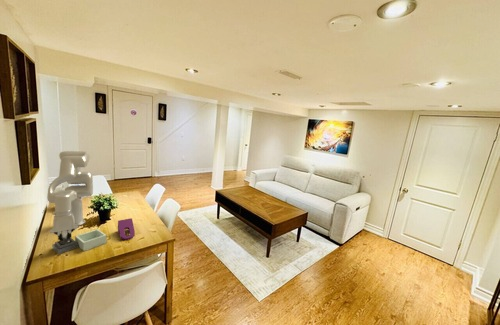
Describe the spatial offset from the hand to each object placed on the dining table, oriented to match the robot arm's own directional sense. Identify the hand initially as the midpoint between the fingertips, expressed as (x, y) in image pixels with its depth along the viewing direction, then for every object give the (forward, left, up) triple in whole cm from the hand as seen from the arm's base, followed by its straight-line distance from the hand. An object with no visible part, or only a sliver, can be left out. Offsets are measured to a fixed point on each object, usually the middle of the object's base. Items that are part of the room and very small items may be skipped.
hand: (65, 239), depth 132 cm
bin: (+6, +12, -6) cm, 15 cm away
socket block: (0, 0, -6) cm, 6 cm away
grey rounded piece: (0, 0, -3) cm, 3 cm away
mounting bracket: (+11, +33, -7) cm, 35 cm away
